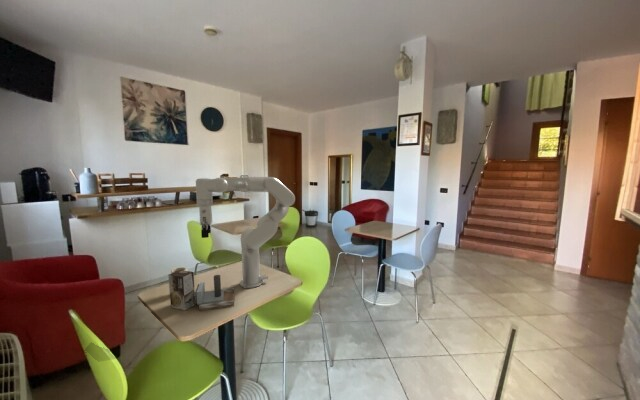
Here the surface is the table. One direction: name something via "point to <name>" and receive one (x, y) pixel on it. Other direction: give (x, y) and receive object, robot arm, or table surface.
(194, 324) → the table surface
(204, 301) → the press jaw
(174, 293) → the coffee box
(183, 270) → the character mug
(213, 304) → the press bed
